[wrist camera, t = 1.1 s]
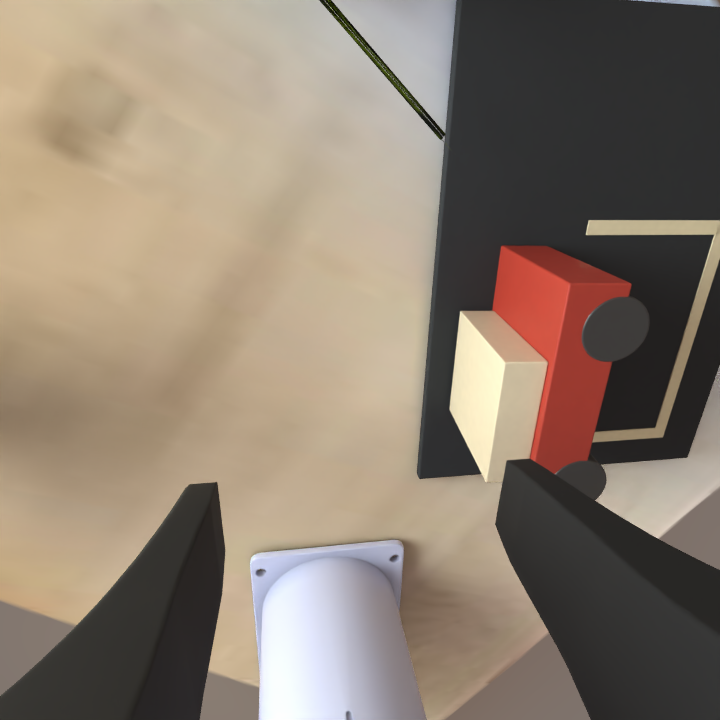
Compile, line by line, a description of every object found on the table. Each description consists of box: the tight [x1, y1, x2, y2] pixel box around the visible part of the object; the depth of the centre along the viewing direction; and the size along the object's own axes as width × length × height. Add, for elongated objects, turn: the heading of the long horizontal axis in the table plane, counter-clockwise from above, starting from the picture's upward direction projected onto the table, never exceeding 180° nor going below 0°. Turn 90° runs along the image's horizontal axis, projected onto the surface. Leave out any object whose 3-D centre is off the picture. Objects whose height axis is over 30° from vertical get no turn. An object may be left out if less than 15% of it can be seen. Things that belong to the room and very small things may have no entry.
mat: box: [417, 0, 720, 479], centre depth 22 cm, size 20×15×1 cm
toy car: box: [449, 245, 650, 500], centre depth 19 cm, size 9×4×6 cm, turn 179°
